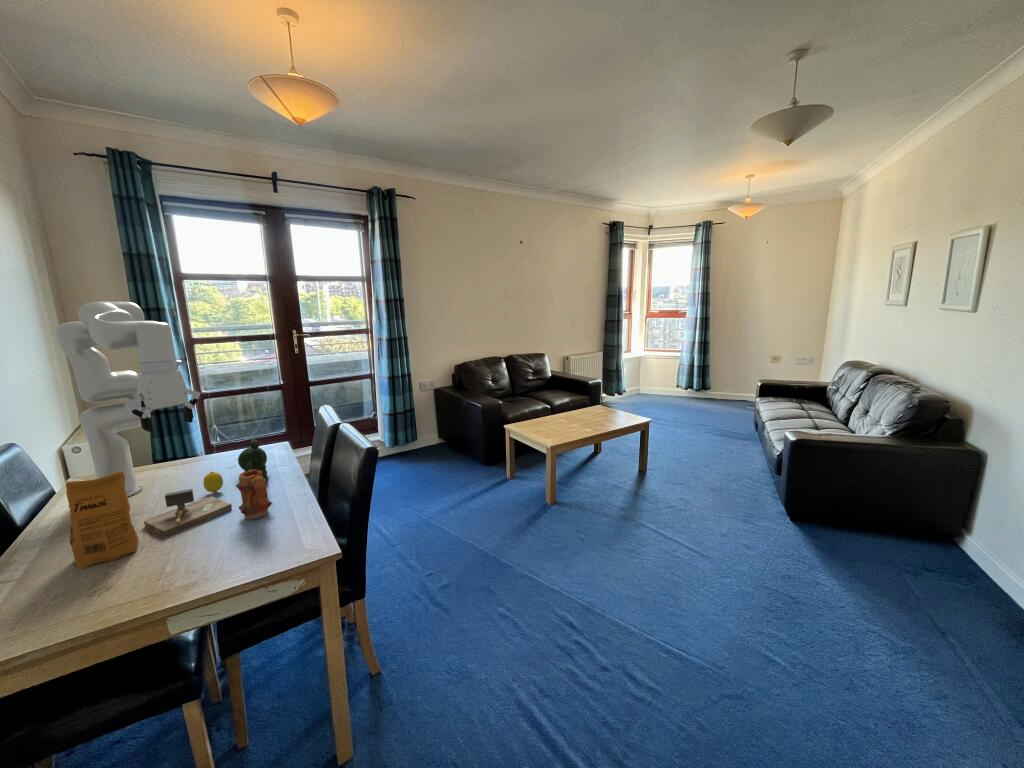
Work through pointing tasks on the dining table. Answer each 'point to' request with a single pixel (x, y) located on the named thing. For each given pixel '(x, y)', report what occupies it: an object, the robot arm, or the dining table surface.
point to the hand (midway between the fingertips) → (169, 426)
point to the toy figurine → (253, 459)
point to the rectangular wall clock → (187, 516)
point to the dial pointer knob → (179, 500)
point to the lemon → (213, 482)
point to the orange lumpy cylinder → (253, 494)
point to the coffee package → (100, 520)
